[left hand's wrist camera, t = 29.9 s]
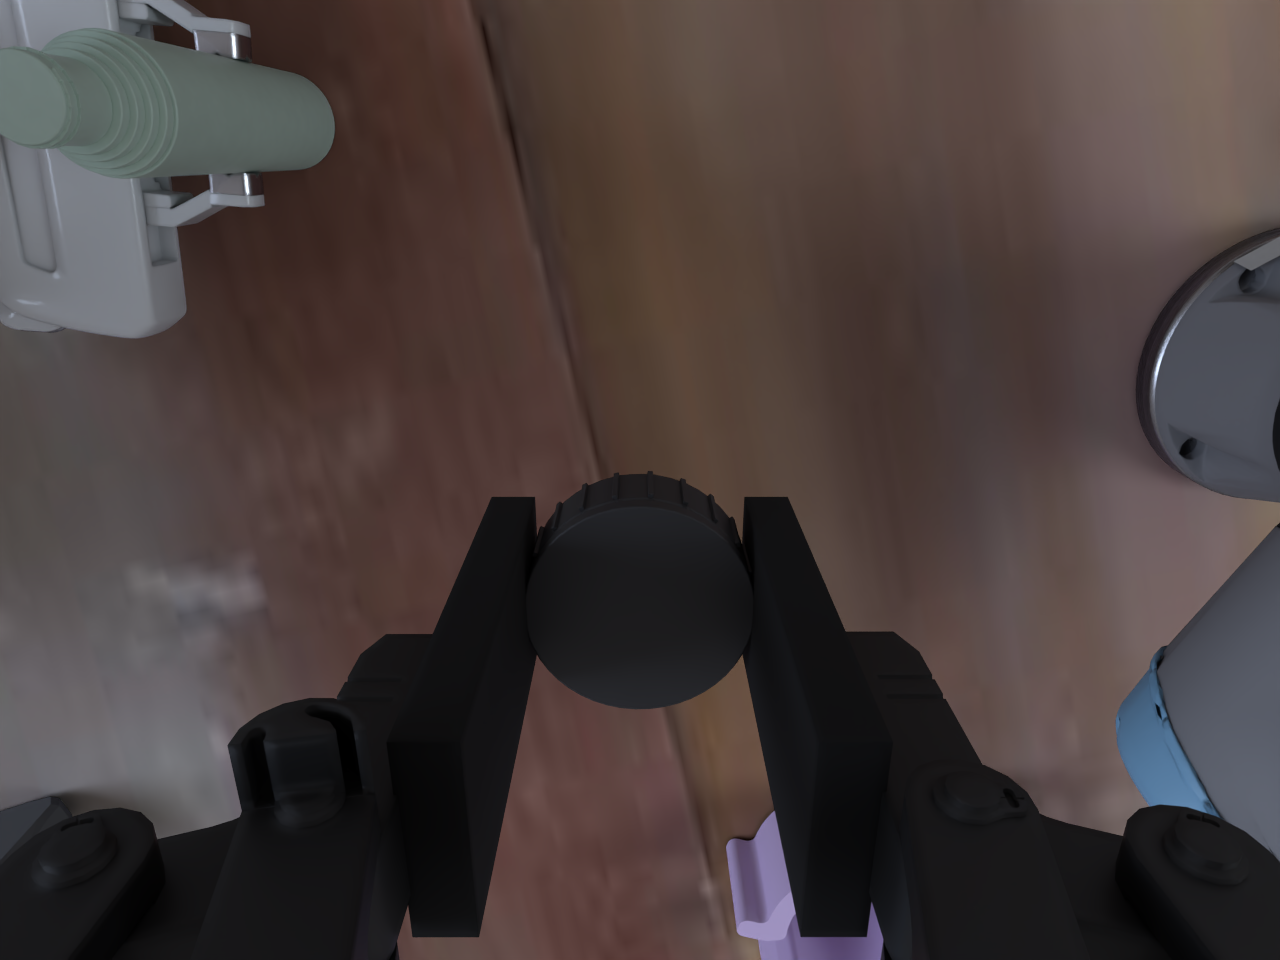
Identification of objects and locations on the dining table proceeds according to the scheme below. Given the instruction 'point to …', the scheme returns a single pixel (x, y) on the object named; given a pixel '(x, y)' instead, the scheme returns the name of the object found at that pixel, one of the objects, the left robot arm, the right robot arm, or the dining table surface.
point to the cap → (639, 592)
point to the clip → (783, 905)
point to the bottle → (159, 108)
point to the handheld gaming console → (28, 822)
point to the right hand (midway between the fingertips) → (252, 117)
